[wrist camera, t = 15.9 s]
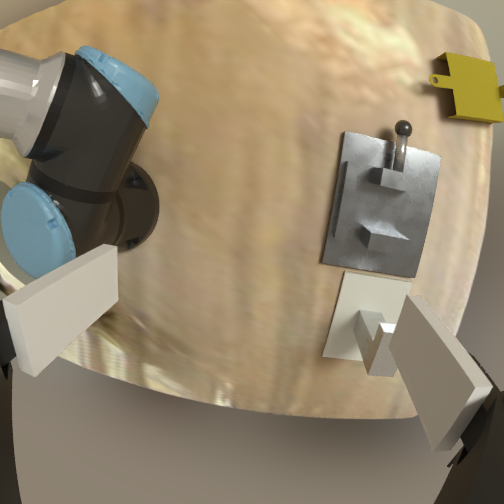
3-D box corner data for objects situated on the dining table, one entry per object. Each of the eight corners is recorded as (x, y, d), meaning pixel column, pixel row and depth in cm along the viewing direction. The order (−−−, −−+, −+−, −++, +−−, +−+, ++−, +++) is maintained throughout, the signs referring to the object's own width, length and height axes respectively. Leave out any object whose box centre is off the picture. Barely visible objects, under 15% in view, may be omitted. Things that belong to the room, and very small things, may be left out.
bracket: (428, 26, 29) (503, 45, 28) (410, 42, 37) (481, 55, 35) (447, 127, 34) (520, 136, 32) (425, 131, 41) (494, 137, 39)
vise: (321, 260, 48) (325, 274, 42) (346, 110, 41) (355, 103, 36) (412, 276, 47) (426, 289, 41) (440, 136, 40) (458, 134, 35)
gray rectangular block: (353, 330, 50) (367, 375, 38) (364, 293, 48) (384, 331, 36) (374, 333, 50) (393, 376, 38) (386, 296, 48) (410, 334, 36)
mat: (322, 354, 53) (322, 356, 52) (344, 270, 48) (345, 272, 48) (383, 360, 52) (384, 362, 51) (411, 281, 47) (412, 282, 47)
